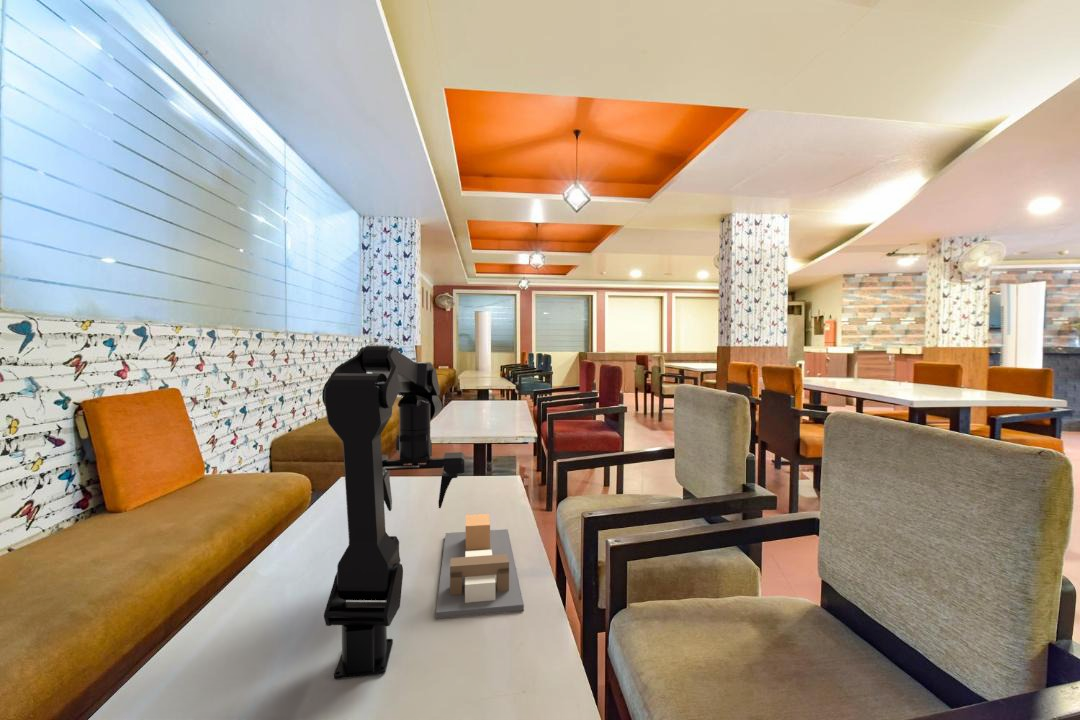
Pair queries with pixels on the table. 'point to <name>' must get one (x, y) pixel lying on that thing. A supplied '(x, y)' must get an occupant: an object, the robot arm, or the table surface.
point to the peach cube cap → (477, 532)
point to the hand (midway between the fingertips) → (415, 508)
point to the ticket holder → (478, 578)
